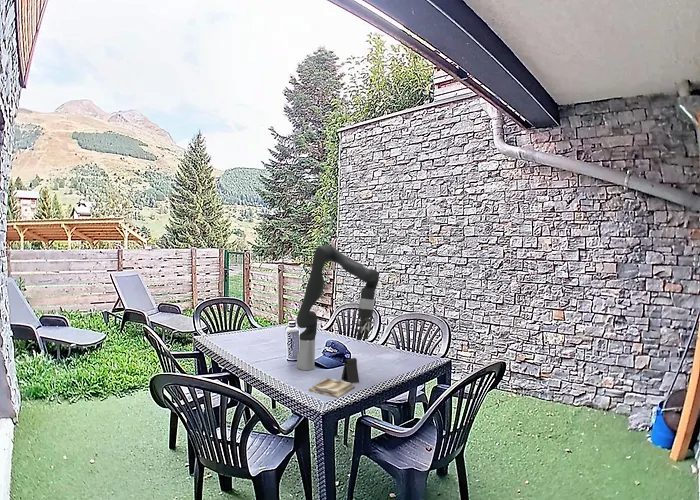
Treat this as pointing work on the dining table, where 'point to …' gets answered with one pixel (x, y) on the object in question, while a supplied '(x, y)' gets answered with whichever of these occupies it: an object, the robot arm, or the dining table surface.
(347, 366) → the black tent sign
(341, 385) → the spacer board
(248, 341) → the dining table surface
